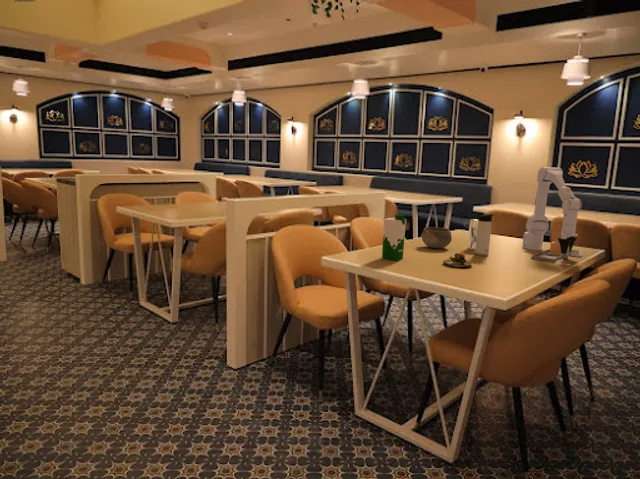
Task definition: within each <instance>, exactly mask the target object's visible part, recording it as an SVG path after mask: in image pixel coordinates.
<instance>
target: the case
mask: <svg viewBox="0 0 640 479" xmlns="http://www.w3.org/2000/svg"><path fill="white" fill-rule="evenodd" d="M539 253H541V255H542V254H547V256H562V255H555V254H550V248H547V249H546V250H545V249H544V250H543V251H542V250H541V251H540V252H539ZM561 259H562V257H561Z"/></svg>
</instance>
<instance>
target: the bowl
mask: <svg viewBox="0 0 640 479" xmlns="http://www.w3.org/2000/svg"><path fill="white" fill-rule="evenodd" d="M420 237H421V240H422V242H423V243H424V245H425V246H426V247H428V248H431V249H439V250H440V249H444V248H446V247H447V246H448V245H450V243H451V242H452V241H453V239H452V238H453V236H452V232H451V230H450V229H449V228H446V227H437V226H436V227H435V226H426V227H424V228H423V230H422V232H421V234H420Z"/></svg>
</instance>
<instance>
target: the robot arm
mask: <svg viewBox="0 0 640 479" xmlns="http://www.w3.org/2000/svg"><path fill="white" fill-rule="evenodd" d="M563 175H564V172H563V169H562V168H561V167H549V166H541V167H540V168H539V169H538V170H537V176H536V177H537V179H536V182H537V190H536V198H535V204H534V211H533V214H531V215H529V217H527V221H526V224H525V229H526V231H525V232H524V233H523V237H522V244H521V245H522V246H521V249H528V250H535V251H542V250H543V251H544V250H545V247H544V248H543V244H544V235H545V234H546V233H547V232H548V230H549V228H550V226H549V225H550V224H549V218H548V217H547V216H546V208H547V202H548V196H549V195H548V193H549V188H550V185H551V184H552V183H553V184H554V186H556V188H557V189H558V192H557V194H558V196H559V199H560V200H561V202H562V203H561V208H562V214H563V217H562V218H563V220H562V226H561V227H562V228H561V233H560V236H561V237H557V241H559V243H560V249H561V253H562V254H566V253H567V250H568V246H570V248H569V252H571V250H573V248H574V245H575V243H576V241H577V240H578V236H579V235H578V234H577V233H576V231H577V230H576V229H577V222H578V215H579V214H578V213H579V211H580V210H581V209H582V205H583V204H582V201H581V199H580V198H578V197H576V196H575V194H574V193H573V191H572V190H571V187H569V186H566V183H565V182H566V181H565V180H564V178H563V177H564V176H563Z"/></svg>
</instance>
